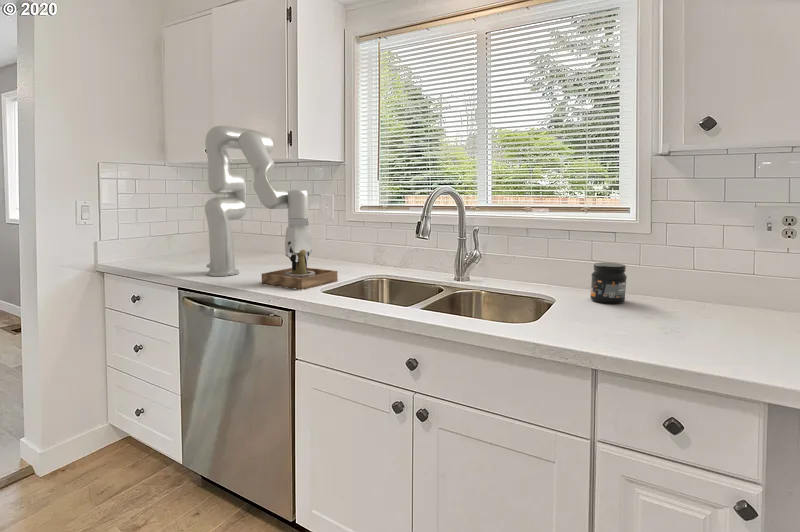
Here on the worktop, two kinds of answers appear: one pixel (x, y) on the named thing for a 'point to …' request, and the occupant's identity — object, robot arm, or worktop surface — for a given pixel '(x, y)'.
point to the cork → (300, 264)
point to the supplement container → (608, 283)
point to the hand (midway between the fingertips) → (299, 270)
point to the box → (299, 278)
